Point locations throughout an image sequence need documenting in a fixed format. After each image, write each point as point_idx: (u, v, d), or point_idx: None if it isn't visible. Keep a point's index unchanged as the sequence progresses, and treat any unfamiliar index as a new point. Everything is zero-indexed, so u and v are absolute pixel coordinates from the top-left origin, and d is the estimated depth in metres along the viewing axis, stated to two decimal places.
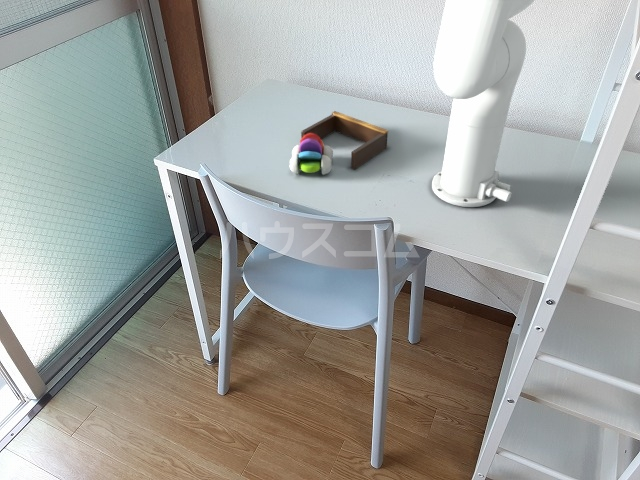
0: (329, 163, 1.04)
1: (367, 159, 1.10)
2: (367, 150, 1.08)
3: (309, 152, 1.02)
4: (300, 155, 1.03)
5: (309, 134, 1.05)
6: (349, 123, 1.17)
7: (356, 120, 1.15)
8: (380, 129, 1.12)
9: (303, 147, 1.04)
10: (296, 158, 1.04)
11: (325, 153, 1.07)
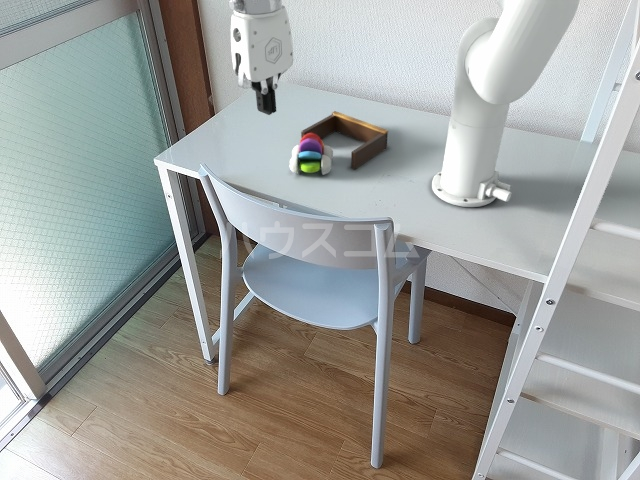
0: (329, 163, 1.04)
1: (367, 159, 1.10)
2: (367, 150, 1.08)
3: (309, 152, 1.02)
4: (300, 155, 1.03)
5: (309, 134, 1.05)
6: (349, 123, 1.17)
7: (356, 120, 1.15)
8: (380, 129, 1.12)
9: (303, 147, 1.04)
10: (296, 158, 1.04)
11: (325, 153, 1.07)
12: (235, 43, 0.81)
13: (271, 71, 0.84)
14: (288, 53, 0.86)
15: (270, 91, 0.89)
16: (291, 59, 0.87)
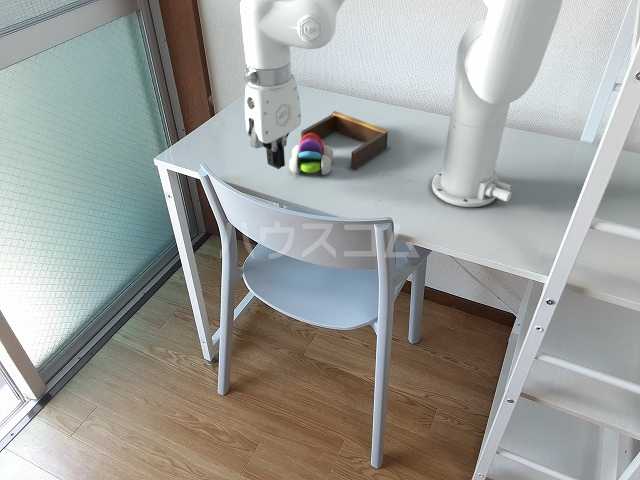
0: (329, 163, 1.04)
1: (367, 159, 1.10)
2: (367, 150, 1.08)
3: (309, 152, 1.02)
4: (300, 155, 1.03)
5: (309, 134, 1.05)
6: (349, 123, 1.17)
7: (356, 120, 1.15)
8: (380, 129, 1.12)
9: (303, 147, 1.04)
10: (296, 158, 1.04)
11: (325, 153, 1.07)
12: (249, 110, 0.89)
13: (281, 132, 0.93)
14: (296, 115, 0.94)
15: (279, 148, 0.97)
16: (299, 120, 0.95)
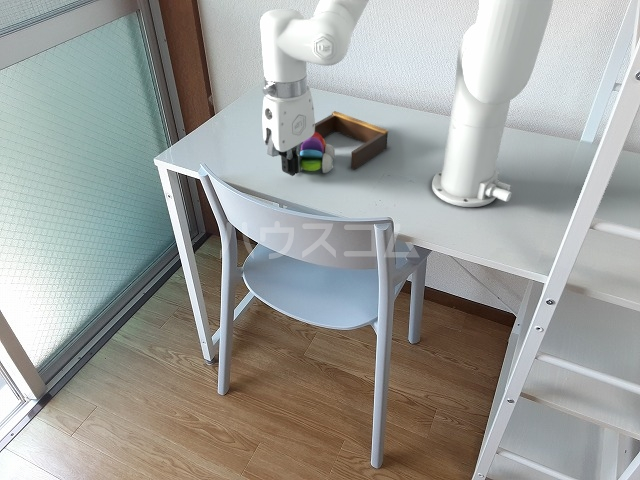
0: (330, 162, 1.05)
1: (367, 159, 1.10)
2: (367, 150, 1.08)
3: (310, 150, 1.03)
4: (301, 153, 1.04)
5: None
6: (349, 123, 1.17)
7: (356, 120, 1.15)
8: (380, 129, 1.12)
9: (305, 145, 1.05)
10: None
11: (326, 152, 1.07)
12: (266, 120, 0.93)
13: (296, 141, 0.97)
14: (311, 125, 0.99)
15: (294, 156, 1.01)
16: (313, 129, 1.00)
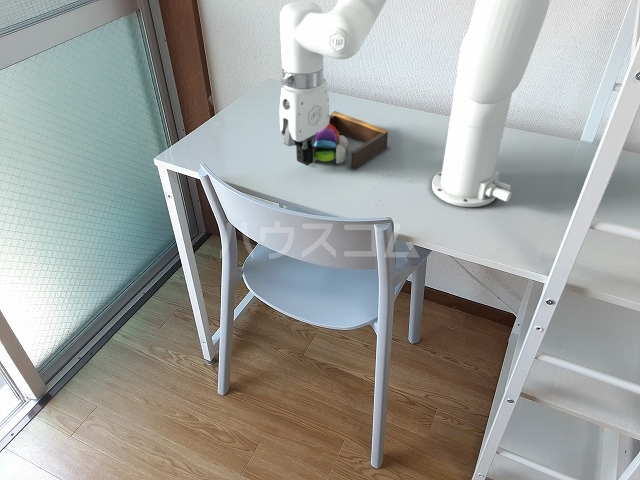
0: (343, 152, 1.07)
1: (367, 159, 1.10)
2: (367, 150, 1.08)
3: (324, 141, 1.05)
4: (315, 144, 1.07)
5: None
6: (349, 123, 1.17)
7: (356, 120, 1.15)
8: (380, 129, 1.12)
9: (319, 136, 1.08)
10: None
11: (340, 143, 1.10)
12: (284, 110, 0.96)
13: (312, 132, 1.00)
14: (326, 116, 1.01)
15: (309, 146, 1.04)
16: (328, 120, 1.02)
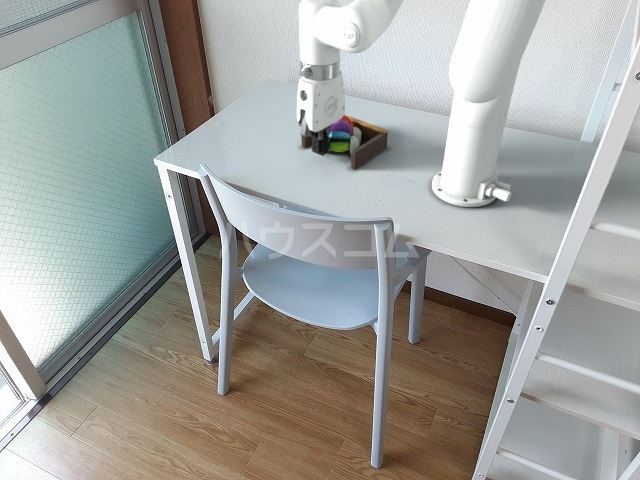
0: (357, 144, 1.10)
1: (367, 159, 1.10)
2: (367, 150, 1.08)
3: (339, 132, 1.08)
4: (330, 135, 1.09)
5: None
6: None
7: (356, 120, 1.15)
8: (380, 129, 1.12)
9: (334, 128, 1.10)
10: None
11: (354, 134, 1.13)
12: (301, 101, 0.99)
13: (328, 122, 1.03)
14: (341, 107, 1.04)
15: (324, 137, 1.07)
16: (343, 111, 1.05)
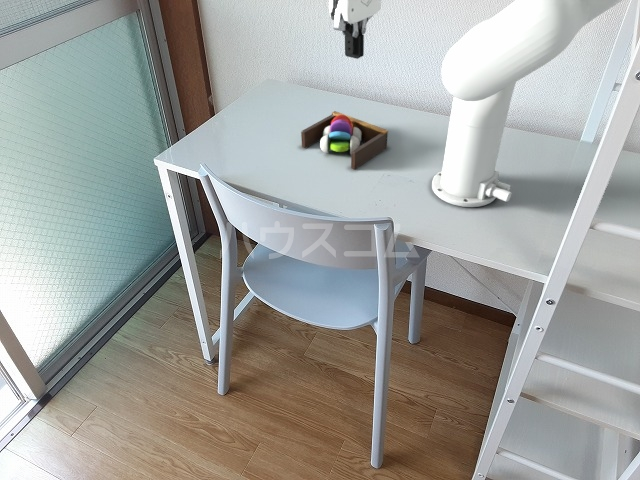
0: (357, 143, 1.10)
1: (367, 159, 1.10)
2: (367, 150, 1.08)
3: (339, 132, 1.08)
4: (330, 135, 1.09)
5: (340, 116, 1.11)
6: None
7: (356, 120, 1.15)
8: (380, 129, 1.12)
9: (334, 128, 1.10)
10: (326, 138, 1.10)
11: (354, 134, 1.13)
12: None
13: (364, 13, 0.91)
14: None
15: (359, 35, 0.95)
16: (379, 3, 0.93)
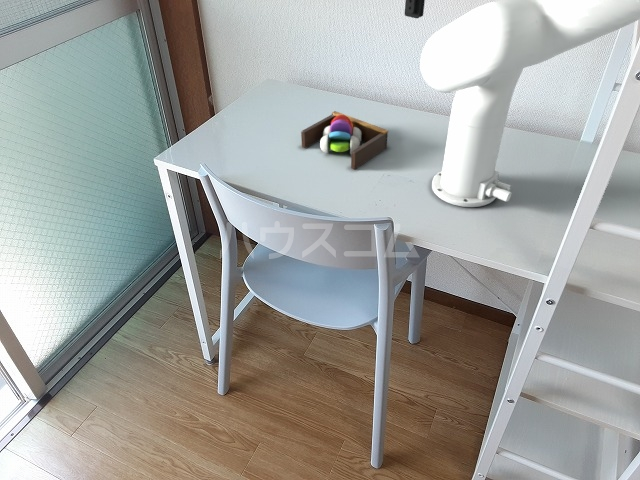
0: (357, 143, 1.10)
1: (367, 159, 1.10)
2: (367, 150, 1.08)
3: (339, 132, 1.08)
4: (330, 135, 1.09)
5: (340, 116, 1.11)
6: None
7: (356, 120, 1.15)
8: (380, 129, 1.12)
9: (334, 128, 1.10)
10: (326, 138, 1.10)
11: (354, 134, 1.13)
12: None
13: None
14: None
15: None
16: None
